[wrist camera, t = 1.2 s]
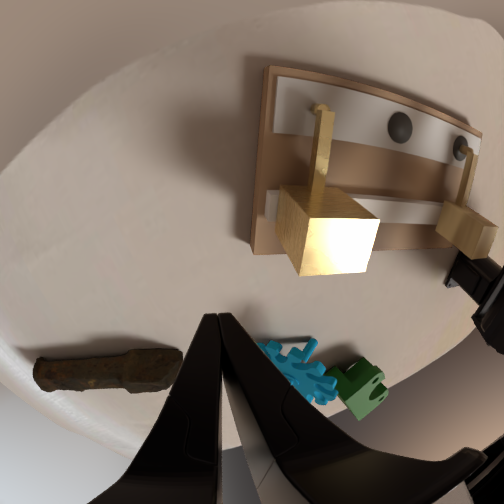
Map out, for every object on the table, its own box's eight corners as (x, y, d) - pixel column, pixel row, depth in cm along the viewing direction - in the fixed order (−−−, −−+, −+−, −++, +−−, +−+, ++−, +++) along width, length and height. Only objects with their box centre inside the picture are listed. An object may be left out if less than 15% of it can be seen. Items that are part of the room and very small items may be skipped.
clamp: (353, 357, 41) (386, 395, 36) (324, 380, 40) (358, 420, 35) (359, 342, 31) (404, 393, 26) (321, 373, 31) (366, 427, 25)
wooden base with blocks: (472, 129, 19) (528, 151, 13) (443, 241, 26) (487, 278, 19) (264, 67, 15) (306, 49, 9) (250, 244, 21) (274, 311, 15)
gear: (241, 335, 24) (343, 386, 20) (276, 293, 28) (368, 333, 23) (247, 383, 31) (320, 421, 27) (273, 349, 35) (341, 382, 30)
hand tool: (53, 372, 26) (46, 401, 22) (37, 352, 24) (26, 382, 20) (188, 362, 28) (191, 398, 24) (178, 339, 26) (178, 377, 22)
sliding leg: (345, 108, 15) (400, 118, 10) (325, 227, 19) (364, 271, 15) (285, 98, 14) (326, 100, 10) (272, 227, 19) (299, 276, 14)
